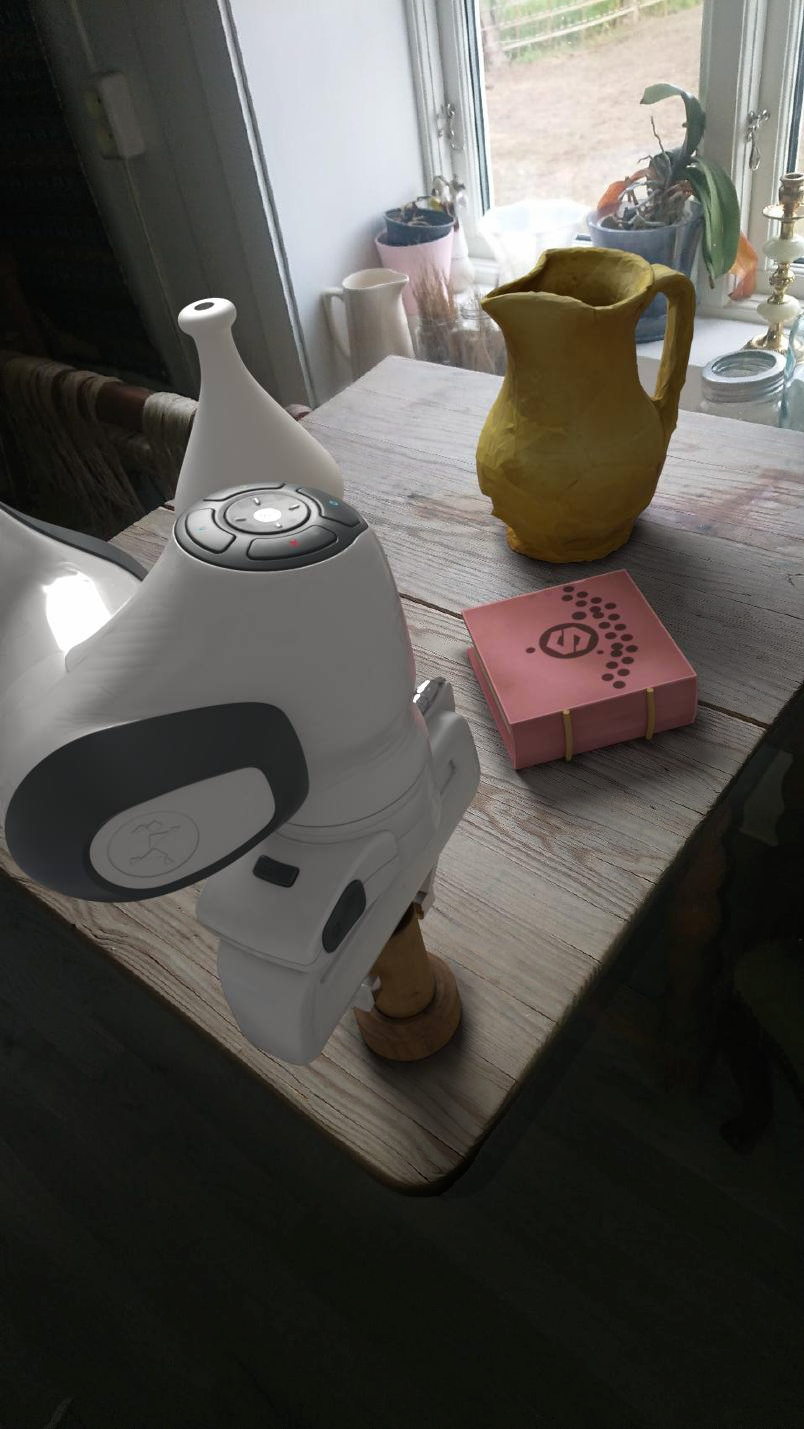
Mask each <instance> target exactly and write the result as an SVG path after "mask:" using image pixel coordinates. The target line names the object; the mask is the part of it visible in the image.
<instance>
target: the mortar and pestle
mask: <svg viewBox="0 0 804 1429" xmlns="http://www.w3.org/2000/svg"><path fill="white" fill-rule="evenodd" d="M370 972H371V973H373V974H376V975H378V976H379V978H380V981H381V984H380V986H382V988H383V990H382V992H381V993H380V995H379V997H378V999H377V1001H376V1002H375V1004H374V1005H373V1007H372V1009H371V1011H369V1012H367V1011H364V1010H361V1009H359V1008H357V1007H355V1006H352V1009H353V1013H354V1017H355V1020H356V1022H357V1026H358V1029H359V1031H360V1034H361V1036H362V1037H363V1040H364V1041H365V1042H366V1044H367V1045H368V1046H369V1048H371V1049H372V1050H373V1052H375V1053H376V1054H378V1055H379V1056H381V1057H383V1058H385V1059H388V1060H392V1061H397V1062H398V1061H399V1062H411V1061H417V1060H421V1059H422V1060H423V1059H424V1058H427V1057H429V1056H431V1055H434V1054H435V1053H437V1052H438V1051H440V1050H441V1049H442V1048H443V1047H444V1046H445V1045H446V1044H447V1043H448V1042H449V1041H450V1040H451V1039H452V1037H453V1035H454V1033H455V1032H456V1030H457V1029H458V1025H459V1023H460V1020H461V1015H462V1014H461V1013H462V1001H461V996H460V992H459V989H458V983H457V981H456V978H455V975H454V972H452V969H451V968H450V967H449V965H448V963H446V962H445V961H444V960H443V959H442V958H441V957H440V956H439V955H437V954H435V953H432V952H430V951H428V950H427V949H426V946H425V942H424V938H423V934H422V931H421V926H420V921H419V919H418V917H417V913H416V909H415V905H414V901H413V900H412V902H411V904H410V905H409V907H408V909H407V910H406V912H405V914H404V915H403V917H402V919H401V920H400V922H399V924H398V925H397V927H396V929H395V930H394V932H393V933H392V935H391V937H390V938H389V940H388V942H387V943H386V945H385V947H384V948H383V950H382V952H381V953H380V955H379V957H378V958H377V960H376V962H375V963H374V965H373V967H372V968H371V970H370Z"/></svg>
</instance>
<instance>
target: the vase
mask: <svg viewBox="0 0 804 1429" xmlns="http://www.w3.org/2000/svg"><path fill="white" fill-rule="evenodd" d="M236 318H237V309H236V307H235V304H234V303H233V302H231V301H230V300H228V299H225V298H219V297H211V298H210V297H209V298H205V299H200V300H198V301H194V302H192V303H190V304H188V305H186V306H185V307H184V308H183V309H181V311H180V312H179V314H178V317H177V324H178V327H179V328H180V329H181V331H182V332H183V333H185V334H186V335H189V336H190V337H192V338H193V341H194V343H195V346H196V350H197V353H198V354H197V355H198V360H199V366H200V390H199V397H198V402H197V406H196V412H195V415H194V420H193V424H192V428H191V431H190V436H189V439H188V443H187V446H186V451H185V454H184V457H183V461H182V465H181V467H180V468H181V469H180V471H179V472H180V473H179V476H178V480H177V485H176V490H175V494H174V495H175V496H174V503H173V504H174V505H173V506H174V507H173V509H174V517H175V521H176V520H177V518H178V517H179V515H180V514H181V513H182V512H183V511H184V510H185V509H186V508H187V507H189V506H190V505H191V504H193V503H194V502H196V501H198V500H200V499H201V498H203V497H205V496H208V495H210V494H213V493H215V492H218V491H221V490H223V489H226V488H230V487H234V486H238V485H243V484H250V483H260V482H283V483H285V484H295V485H301V486H305V487H313V488H316V489H319V490H321V491H324V492H326V493H328V494H330V495H332V496H334V497H336V498H338V499H340V500H341V501H343V502H344V496H345V481H344V477H343V474H342V471H341V469H340V467H339V465H338V464H337V462H336V460H335V459H334V458H333V456H332V455H331V454H330V453H329V452H328V450H327V449H326V448H324V446H323V445H322V444H321V443H320V442H319V441H318V440H317V439H316V438H315V437H314V436H312V435H311V433H309V431H308V430H307V429H305V428H304V427H303V425H301V424H300V423H299V422H298V421H297V420H296V419H295V418H293V416H292V415H291V414H290V413H289V412H287V410H285V409H284V408H283V407H282V406H281V405H280V404H279V403H278V402H277V401H276V400H275V398H273V397H272V396H271V395H270V394H269V393H268V392H267V391H266V390H265V389H264V388H263V387H262V386H261V384H259V382H258V381H257V380H256V379H255V378H254V376H253V375H252V374H251V372H250V371H249V369H248V368H247V367H246V364H244V362H243V360H242V357H241V356H240V353H239V351H238V349H237V346H236V344H235V341H234V338H233V333H232V326H233V324H234V323H235V321H236Z"/></svg>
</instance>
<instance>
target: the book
mask: <svg viewBox="0 0 804 1429" xmlns="http://www.w3.org/2000/svg"><path fill="white" fill-rule="evenodd" d="M460 613H461V614H460V615H461V618H462V621H463V623H464V625H465V628H466V630H467V632H468V636H469V637H470V639H471V642H472V644H473V647H471V648H469V647H468V648H467V649H466V656H467V658H468V661H469V663H470V666H471V668H472V670H473V673H474V675H475V678H476V680H477V682H478V685H479V687H480V689H481V692H482V695H483V697H484V699H485V701H486V704H487V706H488V709H489V711H490V713H491V716H492V719H493V721H494V724H495V725H496V728H497V731H498V733H499V735H500V737H501V740H502V743H503V745H504V747H505V750H506V752H507V755H508V757H509V760H510V762H511V764H512V767H513V769H514V771H516V770H517V771H518V770H522V769H525V768H529V767H532V766H536V765H540V764H543V763H547V762H551V761H554V760H559V759H562V758H564V759H565V761H571V760H572V758H573V756H574V755H578V754H582V753H586V752H588V751H592V750H597V749H600V748H604V747H608V746H613V745H615V744H616V745H617V744H620V743H624V742H626V741H630V740H634V739H638V738H642V737H645V739H647V740H652V737H653V734H657V733H660V732H665V731H669V730H672V729H675V728H680V727H683V726H687V725H691V724H694V722H695V720H696V717H697V714H698V706H699V705H698V704H699V685H698V684H699V682H698V674H697V673H696V672H695V669H694V668H693V667H692V665H691V664H690V662H689V661H688V659H687V658H686V656H685V655H684V653H683V652H682V650H681V649H680V648H679V646H678V644H677V643H676V642H675V641H674V639H673V638H672V636H671V634H670V633H669V632H668V630H667V629H666V626H664V624H663V622H662V621H661V620H660V618H659V617H658V616H657V614H656V612H655V611H654V609H653V608H652V606H651V605H650V604H649V602H648V600H647V598H645V596H644V595H643V593H642V592H641V590H640V589H639V587H638V586H637V584H636V583H635V581H634V580H633V579H632V577H631V575H630V574H629V573H628V571H627V570H626V568H622V569H618V570H614V571H610V572H607V573H606V572H605V573H602V574H598V575H594V576H590V577H586V578H583V579H578V580H574V581H571V582H567V583H562V584H559V585H554V586H552V587H547V588H543V589H539V590H536V591H535V590H534V591H532V592H528V593H524V594H520V595H516V596H512V597H508V598H504V599H500V600H497V601H492V602H489V603H484V604H481V605H477V606H473V607H468V608H465V609H461V610H460Z"/></svg>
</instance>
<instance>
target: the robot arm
mask: <svg viewBox="0 0 804 1429" xmlns="http://www.w3.org/2000/svg"><path fill="white" fill-rule="evenodd" d="M152 566H153V567H152V568H151V569H150V571H148V570H147V569H146V568H145V567H144V566H143V564H141V563H140V561H138V560H137V559H136V558H134V557H133V556H132V555H130V554H129V553H128V552H126V551H125V550H122V549H121V548H119V547H118V546H116V545H114V544H111V543H110V542H107V541H105V540H103V539H100V538H98V537H94V536H92V535H89V534H85V533H82V532H80V531H76V530H73V529H69V528H66V527H62V526H59V525H55V524H53V523H49V522H46V521H43V520H40V519H37V518H35V517H32V516H30V515H27V514H25V513H22V512H20V511H19V510H17V509H15V508H13V507H11V506H9V505H8V504H6V503H4V502H2V501H0V826H1V828H2V831H3V834H4V838H5V842H6V843H5V844H6V846H7V849H8V852H9V854H10V856H11V858H12V860H13V861H14V863H15V864H16V865H17V866H18V868H19V869H20V870H21V871H22V872H23V873H24V874H25V875H26V876H27V877H29V878H30V879H31V880H32V881H34V882H36V883H37V884H39V885H41V886H43V887H44V888H45V889H48V890H50V891H53V892H54V893H58V894H59V895H63V896H67V897H70V898H74V899H77V900H83V901H88V902H94V903H103V904H104V903H105V904H106V903H107V904H110V903H111V904H114V903H115V904H122V903H134V902H136V903H137V902H141V901H147V900H151V899H152V900H153V899H155V898H159V897H162V896H165V895H169V894H173V893H175V892H178V891H180V890H183V889H185V888H188V887H189V886H193V885H195V884H196V883H199V882H202V881H203V880H205V882H204V883H203V886H202V888H201V890H200V892H199V894H198V897H197V899H196V901H195V902H196V903H195V910H194V911H195V916H196V919H197V921H198V923H199V925H200V926H201V928H203V929H204V930H206V931H208V932H209V933H210V934H213V936H215V937H217V938H219V941H218V945H217V951H216V969H217V976H218V980H219V983H220V986H221V989H222V992H223V995H224V997H225V1000H226V1002H227V1004H228V1008H229V1010H230V1011H231V1014H232V1016H233V1019H234V1021H235V1023H236V1024H237V1026H238V1028H239V1031H240V1032H241V1033H242V1035H243V1037H244V1038H245V1039H246V1040H247V1041H248V1042H249V1043H250V1044H251V1045H253V1046H254V1047H256V1048H257V1049H259V1050H261V1051H263V1052H264V1053H266V1054H268V1055H271V1056H272V1057H273V1058H276V1059H278V1060H280V1061H283V1062H285V1063H287V1064H290V1065H294V1066H298V1067H303V1066H305V1065H308V1064H311V1063H313V1062H316V1060H317V1059H318V1058H319V1057H320V1055H321V1054H322V1052H323V1050H324V1049H325V1047H326V1045H327V1043H328V1042H329V1040H330V1038H331V1036H332V1035H333V1033H334V1031H335V1030H336V1028H337V1027H338V1025H339V1023H340V1021H341V1020H342V1018H343V1016H344V1015H345V1013H346V1012H347V1010H348V1008H349V1007H350V1006H352V1007H353V1006H355V1007H357V1008H359V1009H361V1010H364V1011H367V1012H369V1011H371V1009H372V1007H373V1005H374V1004H375V1002H376V1001H377V999H378V997H379V995H380V993H381V992H382V990H383V988H382V986H380V984H381V981H380V978H379V976H378V975H376V974H373V973H371V972H370V970H371V968H372V967H373V965H374V963H375V962H376V960H377V958H378V957H379V955H380V953H381V952H382V950H383V948H384V947H385V945H386V943H387V942H388V940H389V938H390V937H391V935H392V933H393V932H394V930H395V929H396V927H397V925H398V924H399V922H400V920H401V919H402V917H403V915H404V914H405V912H406V910H407V909H408V907H409V905H410V904H411V902H412V900H413V901H414V905H415V909H416V913H417V917H418V920H425V918H426V916H427V914H428V912H429V911H430V910H431V908H432V906H433V905H434V903H435V902H436V895H435V892H434V887H433V886H434V884H435V879H436V873H437V869H438V864H439V860H440V855H441V854H442V852H443V851H444V849H445V847H446V845H447V844H448V842H449V840H450V839H451V838H452V836H453V834H454V832H455V830H456V829H457V827H459V824H460V822H461V821H462V819H463V817H464V815H466V813H467V811H468V809H469V808H470V806H471V804H472V802H473V801H474V799H475V798H476V796H477V794H478V790H479V787H480V781H481V774H482V770H481V764H480V759H479V754H478V751H477V747H476V743H475V740H474V736H473V733H472V730H471V727H470V724H469V722H468V721H467V719H466V717H464V715H462V714H461V713H458V712H456V701H455V695H454V688H453V685H452V683H451V681H449V680H447V679H446V678H445V677H443V676H436V677H434V678H433V679H431V678H426V679H424V680H423V681H421V683H420V684H419V685H418V686H417V687H416V682H417V667H416V659H415V655H414V654H415V653H414V650H413V645H412V641H411V636H410V631H409V627H408V623H407V618H406V614H405V611H404V607H403V603H402V599H401V596H400V593H399V590H398V586H397V582H396V579H395V576H394V574H393V571H392V567H391V565H390V561H389V558H388V556H387V554H386V552H385V549H384V547H383V545H382V542H381V540H380V539H379V537H378V535H377V533H376V532H375V530H374V528H373V527H372V525H371V524H370V523H369V522H368V520H367V519H366V518H365V517H364V516H363V515H361V514H360V513H359V512H358V510H356V509H354V508H353V507H352V506H350V505H349V504H348V503H346V502H345V501H344V500H343V501H341V500H340V499H338V498H336V497H334V496H332V495H330V494H328V493H326V492H324V491H321V490H319V489H316V488H313V487H305V486H301V485H295V484H285V483H283V482H260V483H250V484H243V485H238V486H234V487H230V488H226V489H223V490H221V491H218V492H215V493H213V494H210V495H208V496H205V497H203V498H201V499H200V500H198V501H196V502H194V503H193V504H191V505H190V506H189V507H187V508H186V509H185V510H184V511H183V512H182V513H181V514H180V515H179V517H178V518H177V520H176V519H175V521H174V523H173V525H172V528H171V530H170V533H169V536H168V539H167V541H166V543H165V546H164V548H163V551H162V552H161V553H160V555H159V557H158V559H157V561H156V562H155V564H154V565H152Z"/></svg>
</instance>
